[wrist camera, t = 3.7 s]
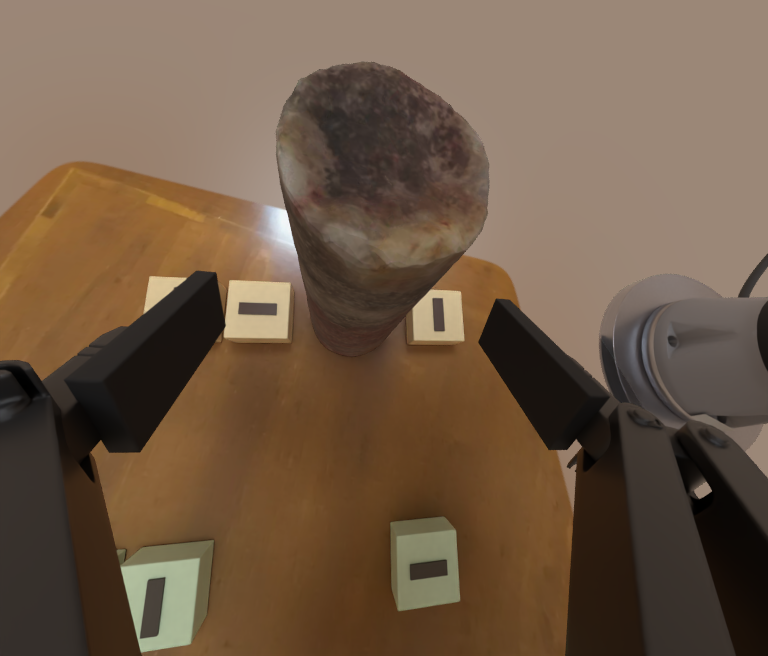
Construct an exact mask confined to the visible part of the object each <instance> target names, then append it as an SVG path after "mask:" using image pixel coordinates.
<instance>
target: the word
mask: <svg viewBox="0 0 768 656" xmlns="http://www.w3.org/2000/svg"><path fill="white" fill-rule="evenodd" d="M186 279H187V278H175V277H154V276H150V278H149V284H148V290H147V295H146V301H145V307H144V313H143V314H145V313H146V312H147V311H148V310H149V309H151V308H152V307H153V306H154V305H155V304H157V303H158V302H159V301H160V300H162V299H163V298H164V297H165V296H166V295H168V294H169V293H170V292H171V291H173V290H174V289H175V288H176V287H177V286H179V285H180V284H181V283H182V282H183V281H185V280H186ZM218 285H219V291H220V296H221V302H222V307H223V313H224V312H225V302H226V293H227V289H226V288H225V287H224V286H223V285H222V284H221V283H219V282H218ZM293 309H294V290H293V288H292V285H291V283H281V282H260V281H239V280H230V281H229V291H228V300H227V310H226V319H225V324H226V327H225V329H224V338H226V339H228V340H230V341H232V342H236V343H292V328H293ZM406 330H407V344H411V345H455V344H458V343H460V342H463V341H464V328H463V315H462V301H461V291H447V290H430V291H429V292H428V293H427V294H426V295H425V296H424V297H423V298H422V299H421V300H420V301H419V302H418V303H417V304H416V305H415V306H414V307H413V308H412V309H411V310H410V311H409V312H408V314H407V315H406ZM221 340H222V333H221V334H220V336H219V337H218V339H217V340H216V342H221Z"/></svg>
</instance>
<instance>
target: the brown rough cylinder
mask: <svg viewBox="0 0 768 656" xmlns="http://www.w3.org/2000/svg"><path fill="white" fill-rule="evenodd" d="M276 141H277V145H276V157H277V164H278V171H279V178H280V185H281V189H282V193H283V198H284V203H285V207H286V210H287V213H288V217H289V222H290V227H291V231H292V236H293V240H294V245H295V248H296V251H297V254H298V260H299V265H300V270H301V274H302V279H303V282H304V286H305V290H306V294H307V301H308V307H309V311H310V315H311V320H312V324H313V327H314V331H315V334H316V336H317V337H318V339H319V341H320V342H321V343H322V344H323V345H324V346H325V347H326V348H327V349H329V350H331V351H333V352H335V353H337V354H341V355H345V356H359V355H363V354H366V353H368V352H370V351H372V350H373V349H375V348H376V347H378V346H379V345H380V344H381V343H382V342H383V341H384V340H385V339H386V337H387V336H388V335H389V334H390V333H391V331H392V330H393V329H394V328H395V327H396V326H397V325H398V324H399V323H400V322H401V321H402V319H403V318H404V317H405V316H406V315H407V314H408V312H409V311H410V310H411V309H412V308H413V307H414V306H415V305H416V304H417V303H418V302H419V301H420V300H421V299H422V298H423V297H424V296H425V295H426V294H427V293H428V292H429V291H430V289H431V288H432V287H433V286H434V285H435V284H436V283H437V282H438V281H439V279H440V278H441V277H442V276H443V275H444V274H445V273H446V272H447V271H448V270H449V269H450V268H451V267H452V265H453V264H454V263H456V262H457V261H458V260H459V259H460V257H461V256H462V255H463V254H464V252H466V250H467V249H468V248H469V247H470V246H471V245H472V244H473V242H474V241H475V240H476V238H477V236H478V235H479V234H480V232H481V231H482V229H483V226H484V222H485V220H486V217H487V214H488V211H487V205H488V192H489V162H488V158H487V155H486V152H485V149H484V146H483V143H482V141H481V139H480V137H479V135H478V134H477V133H476V131H475V130H474V129H473V128H472V127H471V126H470V125H469V123H468V122H467V121H466V120H465V119H464V118H463V117H462V116H461V115H459V114H458V113H457V112H455V111H454V110H453V108H452V107H451V105H450V104H448V103H447V102H445V101H444V100H443V99H442V98H441V97H440V96H439V95H437V94H435V93H433V92H432V91H430V90H428V89H426V88H425V87H424V86H423V85H421V84H420V83H418V82H416V81H414V80H413V79H411V78H410V77H408V76H407V75H405V74H404V73H403V72H401V71H400V70H397V69H395V68H393V67H390V66H385V65H380V64H377V63H375V62H359V63H353V64H342V65H336V66H332V67H330V68H328V69H324V70H323V69H319V70H317V71H316V72H314V73H312V74H310V75H309V76H307V77H305V78H301V79H300V80H299V81H298V83H297V85H296V87H295V89H294V91H293V93H292V95H291V96H290V97H289V99H288V100H287V101H286V103H285V105H284V106H283V110H282V113H281V117H280V120H279V123H278V126H277V129H276Z"/></svg>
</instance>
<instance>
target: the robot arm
mask: <svg viewBox="0 0 768 656" xmlns="http://www.w3.org/2000/svg"><path fill="white" fill-rule="evenodd" d="M767 267H768V254H767V255H766V256H765V257H764V258H763V259H762V261H761V262H760V263H759V264H758V265H757V267H756V268H755V269H754V270H753V272H752V273H751V275H750V276H749V278H748V279H747V281H746V282H745V284H744V285H743V287H742V289H741V291H740V293H739V296H738V298H692V299H684V300H679V301H675V302H671V303H667V304H665V305H662V306H661V307H659V308H658V309H656V310H655V311H654V312H653V313H652V314H651V316H650V317H649V319H648V320H647V322H646V325H645V327H644V331H643V335H642V357H643V363H644V367H645V370H646V373H647V376H648V378H649V381H650V383H651V385H652V387H653V388H654V390H655V392H656V393H657V395H658V396H659V398H660V399H661V400H662V401H663V403H664V404H665V405H666V406H667V407H668V408H669V409H670V410H671V411H672V412H673V413H675V414H676V415H677V416H679V417H680V418H682V419H683V420H685V421H687V422H686V423H685V424H684V425H683V426H682V427H681V428H680V429H676V428H672V427H668V426H665V425H664V424H663V423H662V422H661V421H660V420H659V419H658V418H657V417H656V416H655V415H653V414H652V413H650V412H649V411H647V410H645V409H643V408H641V407H640V406H637V405H634V404H631V403H624V402H623V403H620V402H619V401H618V400H617V399H616V398H615V397H614V396H613V395H612V394H611V393H609V392H608V391H607V390H606V389H605V388H604V387H603V386H602V385H601V384H600V383H599V382H598V381H597V380H596V379H595V378H592V376H591V374H589V373H588V372H587V371H586V370H584V368H583V367H582V366H581V365H580V364H579V363H578V362H577V361H576V360H574V359H573V358H571V357H570V356H568V355H567V354H565V353H564V352H563V351H562V350H561V349H560V348H559V347H558V346H557V345H556V344H555V343H554V342H553V341H552V340H551V339H550V338H549V337H548V336H547V335H546V334H545V333H544V332H543V331H542V330H540V329H539V328H538V327H537V326H536V325H535V324H534V323H533V322H532V321H531V320H530V319H529V318H528V317H527V316H526V315H525V314H524V313H523V312H522V311H521V310H520V309H519V308H518V307H517V306H516V305H515V304H513V303H512V302H511V301H510V300H506V299H496V300H495V302H494V305H493V307H492V310H491V312H490V315H489V317H488V320H487V322H486V325H485V327H484V330H483V332H482V335H481V337H480V339H479V342H478V343H479V344H480V346H481V347H482V349H483V350H484V352H485V353H486V355H487V356H488V358H489V359H490V361H491V363H492V364H493V366H494V367H495V369H496V370H497V372H498V373H499V375H500V376H501V378H502V379H503V381H504V382H505V384H506V385H507V387H508V388H509V390H510V392H511V393H512V395H513V396H514V398H515V399H516V401H517V402H518V404H519V405H520V407H521V408H522V410H523V411H524V413H525V414H526V416H527V417H528V419H529V421H530V422H531V424H532V425H533V427H534V428H535V430H536V431H537V433H538V434H539V436H540V437H541V439H542V440H543V442H544V443H545V445H546V446H547V448H548V450H567V449H568V448H569V447H570V446H571V445H572V443H573V442H574V441H575V440H576V439H577V440H578V442H579V443H580V444H581V446H582V448H581V449H580V450H579V451H578V453H577V454H576V455H575V456H574V457H573V458H572V459H571V461H570V462H569V463H568V465H567V467H568V468H571V467H572V466H573V465H575V464H577V467H576V470H575V472H576V486H575V501H574V518H573V535H572V552H571V569H570V586H569V603H568V620H567V636H566V653H565V656H768V478H767V477H766V476H765V475H764V474H763V472H762V471H761V470H760V469H759V468H758V467H757V465H756V464H755V463H754V462H753V461H752V460H751V459H750V457H749V456H748V455H747V454H746V453H745V452H744V450H743V449H742V448H741V447H740V446H739V445H738V444H737V443H736V442H735V441H734V440H733V439H732V438H730V437H729V436H728V435H726V434H725V433H724V432H725V431H735V430H734V429H732V428H739V427H746V426H752V425H759V424H766V423H768V297H764V298H749V295H750V293H751V291H752V289H753V287H754V286H755V284H756V282H757V281H758V279H759V278H760V276H761V275H762V274H763V272H764V271H765V270H766V268H767ZM225 327H226V324H225V318H224V313H223V307H222V302H221V296H220V291H219V285H218V280H217V274H216V272H205V271H196V272H194V273H193V274H192V275H191V276H190V277H188V278H187V279H186V280H185V281H183V282H182V283H181V284H180V285H179V286H177V287H176V288H175V289H174V290H173V291H171V292H170V293H169V294H168V295H166V296H165V297H164V298H163V299H162V300H160V301H159V302H158V303H157V304H155V305H154V306H153V307H152V308H151V309H149V310H148V311H147V312H146V313H145V314H143V315H142V316H141V317H140V318H138V319H137V320H136V321H135V322H134V323H132V324H131V325H130V326H129V327H123V326H121V327H118V328H116V329H114V330H112V331H109V332H107V333H105V334H103V335H101V336H100V337H99V338H97V339H96V340H95V341H93V342H92V343H91V344H90V345H89V347H86V348H84V349H83V350H82V351H80V352H79V353H78V355H77V356H74V357H73V358H71V359H70V360H69V361H67V362H66V363H65V364H64V365H62V366H61V367H60V368H58V369H57V370H56V371H54V372H53V373H52V374H50V375H49V376H48V377H47V378H45V379H44V380H43V381H41V380H40V378H39V377H38V375H37V374H36V373H35V371H34V370H33V368H32V367H31V366H30V364H29V363H27V362H23V361H19V360H6V361H0V656H142V655H141V651H140V647H139V642H138V638H137V634H136V630H135V626H134V621H133V617H132V613H131V609H130V605H129V600H128V596H127V592H126V588H125V584H124V580H123V575H122V571H121V567H120V563H119V559H118V554H117V550H116V546H115V542H114V538H113V533H112V529H111V525H110V521H109V517H108V512H107V508H106V504H105V500H104V496H103V491H102V487H101V483H100V479H99V475H98V470H97V466H96V462H95V459H94V457H93V456H92V454H91V453H90V452H91V451H92V449H93V448H94V447H95V446H96V445H97V443H98V442H99V441H100V440H102V442H103V444H104V445H105V447H106V448H107V450H108V452H109V453H127V452H141V450H142V449H143V447H144V446H145V444H146V443H147V441H148V440H149V439H150V437H151V436H152V434H153V433H154V431H155V430H156V428H157V427H158V425H159V424H160V422H161V421H162V419H163V418H164V416H165V415H166V414H167V412H168V411H169V409H170V408H171V406H172V405H173V403H174V402H175V400H176V399H177V397H178V396H179V394H180V393H181V392H182V390H183V389H184V387H185V386H186V384H187V383H188V381H189V380H190V378H191V377H192V375H193V374H194V372H195V371H196V370H197V368H198V367H199V365H200V364H201V362H202V361H203V359H204V358H205V356H206V355H207V353H208V352H209V350H210V349H211V347H212V346H213V345H214V343H215V342H216V340H217V339H218V337H219V336H220V334H221V333H222V331H223V330H224V328H225ZM706 481H707V483H708V484H709V486H710V487H711V490H712V492H711V493H709V494H708V495H706V496H705V497H703V498H701V499H699V498H698V497H697V496H696V494H695V493H694V490H695V489H696V488H698V487H699V486H700V485H702V484H703V483H705V482H706Z"/></svg>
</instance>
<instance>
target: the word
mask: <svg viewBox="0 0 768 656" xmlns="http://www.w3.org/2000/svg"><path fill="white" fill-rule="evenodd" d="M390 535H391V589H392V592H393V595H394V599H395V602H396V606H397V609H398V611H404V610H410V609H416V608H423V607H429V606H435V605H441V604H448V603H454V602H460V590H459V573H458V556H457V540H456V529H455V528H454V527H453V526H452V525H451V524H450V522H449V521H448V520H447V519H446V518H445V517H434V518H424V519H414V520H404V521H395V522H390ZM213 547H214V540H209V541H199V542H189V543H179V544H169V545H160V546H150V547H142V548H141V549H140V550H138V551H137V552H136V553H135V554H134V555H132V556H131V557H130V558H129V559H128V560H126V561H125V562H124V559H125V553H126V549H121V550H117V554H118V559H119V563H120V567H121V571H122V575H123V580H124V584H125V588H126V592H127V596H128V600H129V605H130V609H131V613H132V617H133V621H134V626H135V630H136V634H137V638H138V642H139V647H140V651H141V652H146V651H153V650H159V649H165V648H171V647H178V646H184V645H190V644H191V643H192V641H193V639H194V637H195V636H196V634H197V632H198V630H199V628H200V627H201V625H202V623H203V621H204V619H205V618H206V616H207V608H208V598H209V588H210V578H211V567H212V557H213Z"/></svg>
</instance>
